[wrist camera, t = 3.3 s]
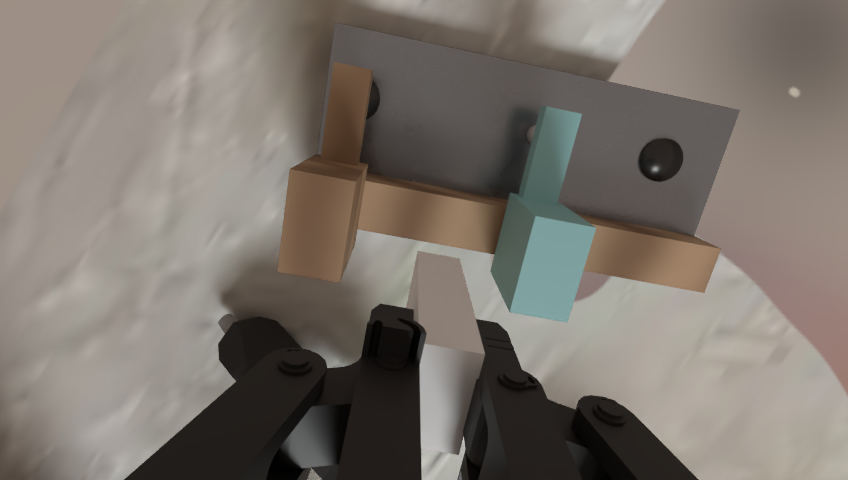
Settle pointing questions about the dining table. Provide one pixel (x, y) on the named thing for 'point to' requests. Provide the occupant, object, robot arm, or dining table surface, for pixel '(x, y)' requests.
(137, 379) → the dining table surface
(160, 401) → the dining table surface
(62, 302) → the dining table surface
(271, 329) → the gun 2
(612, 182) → the bolt plate
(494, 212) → the wooden clamp
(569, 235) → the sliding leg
